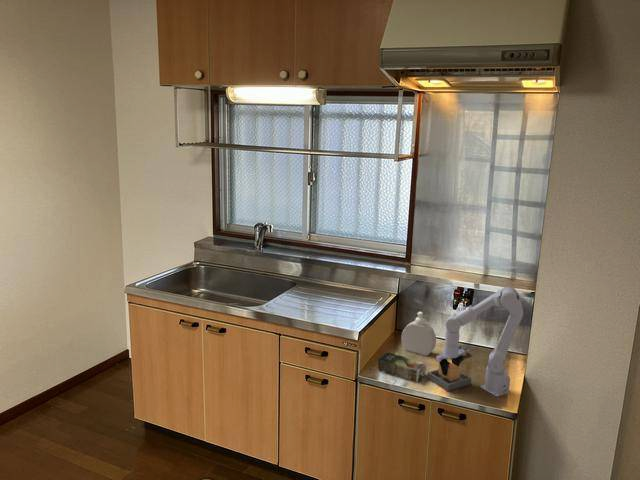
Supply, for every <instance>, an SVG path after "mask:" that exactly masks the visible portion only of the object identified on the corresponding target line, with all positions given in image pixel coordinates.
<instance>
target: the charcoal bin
mask: <svg viewBox="0 0 640 480" xmlns="http://www.w3.org/2000/svg"><path fill="white" fill-rule="evenodd" d="M426 379H427V380H429V381H430V382H432V383H434V385H436V386H439V388H441V389H443V390H444V391H446V392H448V393H449V392H451V391H455V390H457V389H461V388H464V387H468V386H471V385H472V377H470V376H469V375H466V374H465V373H463V372H462V371H460V379H458V380H455V381H452V382H450V381H449V380H447V379H446V378H444V377H442V376H441V375H439V374H438V368H437V369H434V370H430V371H427V374H426Z"/></svg>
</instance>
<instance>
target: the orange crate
mask: <svg viewBox="0 0 640 480" xmlns="http://www.w3.org/2000/svg"><path fill="white" fill-rule="evenodd" d="M448 362H450V364H449V367H448V371H447V375H446V376H445V375H443V374H442V370H441V366H440V363H439V362H438V368H437V369H438V374H439V375H441V376H442V377H444V378H446V379H447V380H449V381H450V382H452V381H455V380H458V379H460V372H461V370H462V369H461V367H460V366H459V367H458V366H456V365H454V364H452V361H449V360H448Z"/></svg>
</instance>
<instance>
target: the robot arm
mask: <svg viewBox="0 0 640 480" xmlns="http://www.w3.org/2000/svg"><path fill="white" fill-rule="evenodd" d="M493 306H494V307H499V308H501V306H503V308H505V309H506V310H507V311H508V312H507V313H509V315H508V318H507V320H506V322H505V325H504V327H503V330H502V332H501V334H500V336H499V338H498V341H497V343H496V346H495V347H494V349H493V350H492V351H491V352H489V355H488V363H487V366H486V371H485V379H484V384H482V385H480V386H479V387H480V388H481V389H483V390H484V391H486V392H488V393H490V394H491V395H493V396H495V397H496V398H497V397H500V396H503V395H506V394H509V393H511V391H510V383H511V377H510V376H509V375H508V374H507V372H506V371H505V370H506V369H505V360H506V357H507V354H508V351H509V349H510V346H511V344H512V341H514V340H513V339H514V337H515V335H516V333H517V330H518V327H519V325H520V323H521V320H522V319H523V317H524V309H523V305H522V301H521V298H520V294H519V293H518V291H517V290H516V288H514V287H512V286H505V287H503V288H502V289H500V290H499V289H498V290H497V291H495V292H494V293H492V294H491V295H489V296H488V297H486V298H485V299H483V300H482V301H480V302H478V303H477V304H476V305H474V306H463V307H462V310H460V311H458V312H457V313H456V312H455V313H453V314H452V315H450V316H448V317H447V319H446V323H445V334H444V335H445V336H444V337H445V338H444V339H445V340H444V349H443V351H442V352H441V353H440V354H439V355H436V357H435V359H436V360H435V361H437V362H438V364H439V363H440V366H441V370H442V374H443V375H445V376H446V375H447V371H448V367H449V364H450V362H451V363H452V364H454V365H456V366H458V367H459V368H460V365H461V363H462V362H463V360H464V356H462V357H461V355H465V351H464V350H463V349H460V350H458V347H459V344H460V329H461V327H463V326H465V325H468V324H469V323H471V322H473V321H475V319H477V317H478V314H480V313H482V312H483V311H486V310H488V309H489V308H491V307H493ZM448 359H450V360H451V361H449V360H448ZM448 361H449V362H448Z"/></svg>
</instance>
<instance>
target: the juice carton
mask: <svg viewBox="0 0 640 480" xmlns="http://www.w3.org/2000/svg"><path fill="white" fill-rule="evenodd" d="M377 361H378V364H377V365H378V366H377V367H378V368H377V369H378V371H381V372H382V371H383V372H385V373H387V374H389V375H393V376H395V377H399V378H402V379H406V380H409V381H413V382H415V383H418V382H421V380H422V379H423V377H424V376H426V371H427V364H426V363H424V362H421V361H419V360H415V359H412V358H410V357H405V356H402V355H398V354H395V353H392V352H385V353H384V354H383V355H381V356H380V357H379V358H378V360H377Z"/></svg>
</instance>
